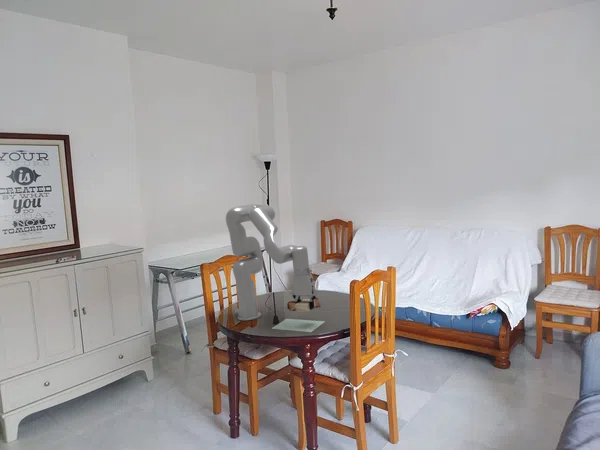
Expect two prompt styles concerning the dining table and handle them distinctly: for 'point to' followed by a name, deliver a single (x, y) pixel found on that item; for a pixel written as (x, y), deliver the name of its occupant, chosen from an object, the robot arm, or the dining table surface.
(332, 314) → the dining table surface
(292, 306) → the sunglasses case
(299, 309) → the card box
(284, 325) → the mat
